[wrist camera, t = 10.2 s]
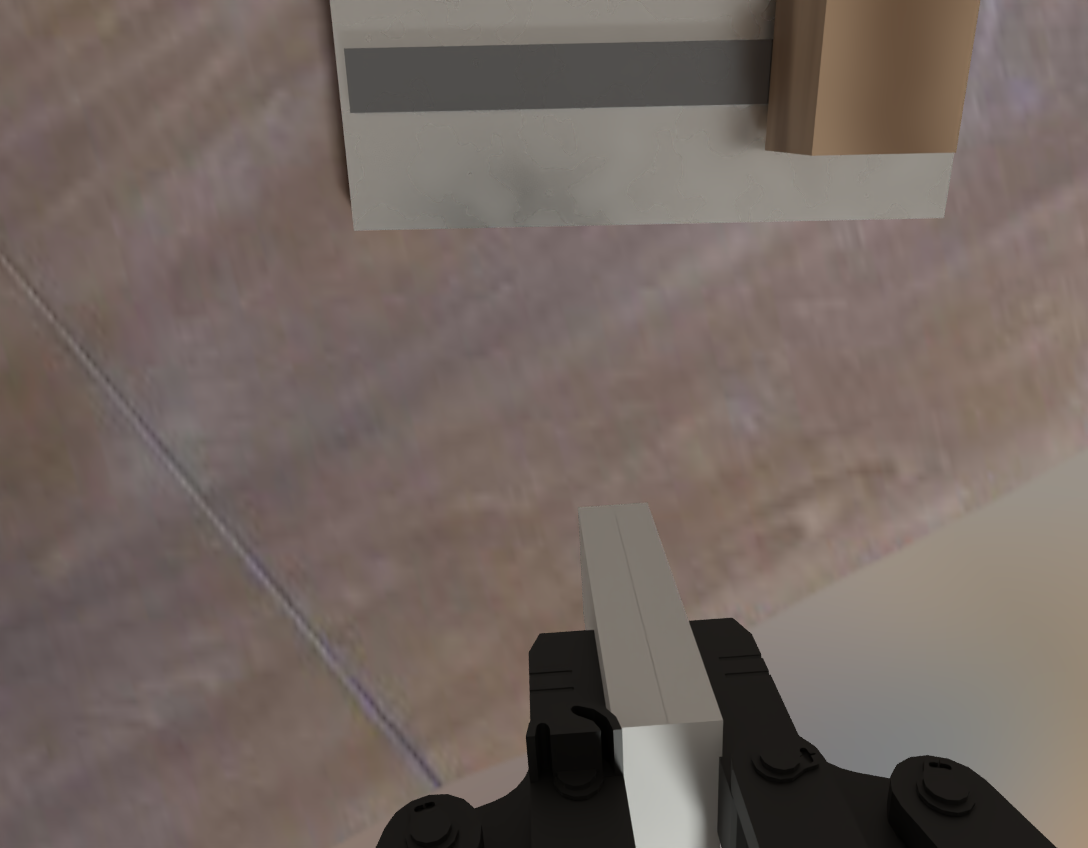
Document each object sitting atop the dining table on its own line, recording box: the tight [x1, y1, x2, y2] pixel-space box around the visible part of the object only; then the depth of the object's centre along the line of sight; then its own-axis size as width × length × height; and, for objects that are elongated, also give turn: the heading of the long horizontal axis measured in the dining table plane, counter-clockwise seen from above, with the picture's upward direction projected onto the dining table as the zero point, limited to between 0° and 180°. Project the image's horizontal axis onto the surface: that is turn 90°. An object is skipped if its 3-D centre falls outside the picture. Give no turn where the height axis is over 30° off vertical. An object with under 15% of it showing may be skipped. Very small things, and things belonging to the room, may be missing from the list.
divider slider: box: [765, 0, 980, 156], centre depth 28 cm, size 5×10×6 cm, turn 1°
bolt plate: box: [330, 0, 954, 231], centre depth 30 cm, size 26×16×7 cm, turn 91°
